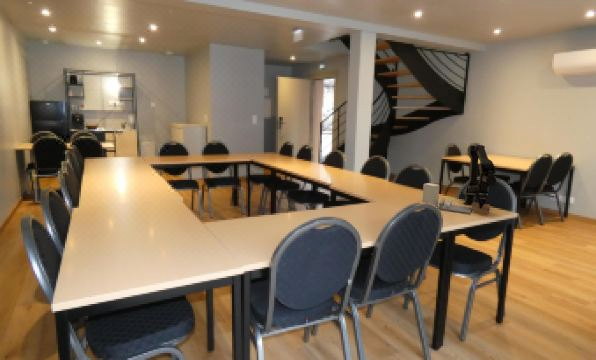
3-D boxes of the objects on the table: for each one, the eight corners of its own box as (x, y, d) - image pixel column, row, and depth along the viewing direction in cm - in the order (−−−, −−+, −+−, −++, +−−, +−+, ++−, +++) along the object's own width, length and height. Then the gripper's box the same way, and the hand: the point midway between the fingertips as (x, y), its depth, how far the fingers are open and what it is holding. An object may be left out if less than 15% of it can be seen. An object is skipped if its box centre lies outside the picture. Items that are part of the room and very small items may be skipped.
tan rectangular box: (471, 209, 234) (472, 202, 233) (489, 212, 229) (490, 204, 228) (470, 211, 229) (472, 203, 228) (488, 214, 225) (490, 206, 224)
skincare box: (437, 208, 233) (440, 185, 231) (431, 209, 230) (434, 185, 227) (426, 204, 240) (429, 182, 238) (420, 205, 237) (423, 183, 234)
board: (441, 204, 242) (442, 197, 241) (471, 209, 234) (472, 202, 233) (438, 209, 229) (439, 202, 228) (470, 214, 221) (471, 207, 220)
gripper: (470, 178, 238) (467, 201, 240) (468, 182, 221) (465, 207, 224) (489, 180, 233) (486, 204, 235) (489, 185, 216) (485, 210, 219)
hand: (480, 206), depth 229 cm, fingers open, 9 cm apart
